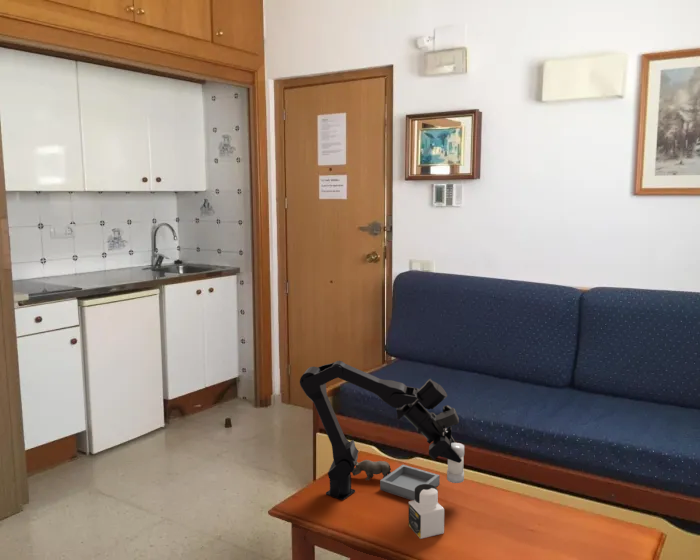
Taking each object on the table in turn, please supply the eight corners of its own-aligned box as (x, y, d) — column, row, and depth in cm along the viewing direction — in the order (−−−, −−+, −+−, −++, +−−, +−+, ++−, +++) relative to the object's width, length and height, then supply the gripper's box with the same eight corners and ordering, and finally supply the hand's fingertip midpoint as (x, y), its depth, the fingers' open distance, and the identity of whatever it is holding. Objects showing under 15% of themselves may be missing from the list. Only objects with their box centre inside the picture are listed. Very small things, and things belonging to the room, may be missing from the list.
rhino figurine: (349, 474, 204) (349, 456, 203) (392, 476, 201) (392, 458, 200) (347, 480, 200) (346, 461, 199) (391, 483, 197) (391, 464, 196)
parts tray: (417, 502, 185) (417, 492, 185) (380, 489, 193) (380, 480, 192) (439, 484, 196) (439, 475, 195) (402, 473, 203) (402, 464, 203)
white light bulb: (459, 484, 181) (459, 451, 179) (444, 480, 184) (444, 447, 182) (466, 478, 185) (467, 445, 183) (451, 473, 188) (452, 441, 186)
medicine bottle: (408, 525, 173) (408, 484, 171) (431, 520, 175) (431, 479, 173) (420, 539, 166) (420, 496, 164) (444, 533, 169) (444, 491, 167)
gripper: (441, 412, 172) (482, 453, 172) (442, 389, 190) (479, 427, 190) (412, 439, 175) (452, 479, 175) (415, 414, 193) (452, 450, 193)
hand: (460, 457), depth 183 cm, fingers closed on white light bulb, 5 cm apart
